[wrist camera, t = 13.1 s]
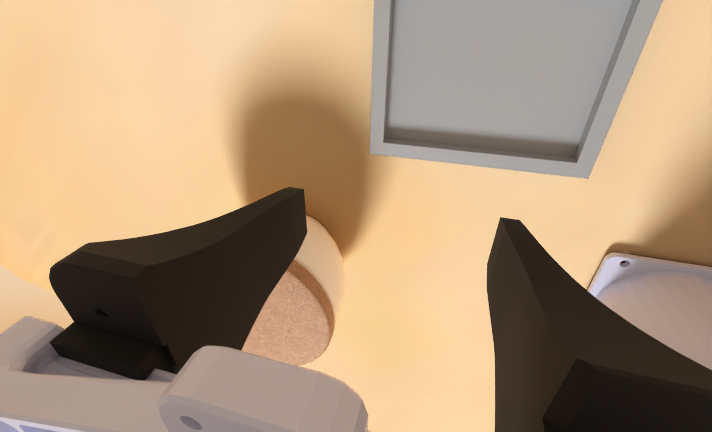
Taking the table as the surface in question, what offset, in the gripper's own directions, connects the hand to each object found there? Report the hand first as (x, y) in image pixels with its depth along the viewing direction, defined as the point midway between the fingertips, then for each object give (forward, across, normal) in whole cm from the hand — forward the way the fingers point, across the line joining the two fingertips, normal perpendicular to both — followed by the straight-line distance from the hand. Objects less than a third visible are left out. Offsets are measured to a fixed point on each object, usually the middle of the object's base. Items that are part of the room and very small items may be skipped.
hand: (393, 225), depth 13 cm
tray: (+10, -3, -4) cm, 11 cm away
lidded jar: (+10, +9, +10) cm, 17 cm away
